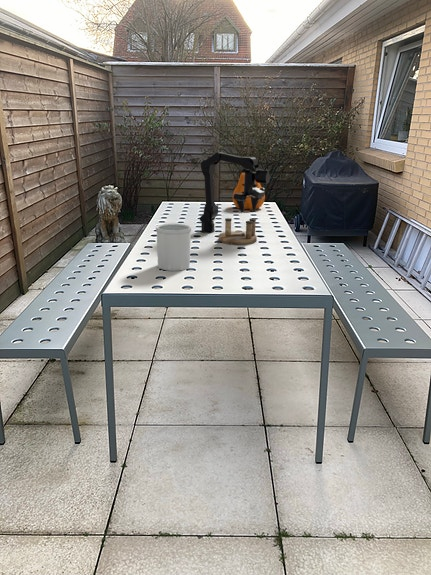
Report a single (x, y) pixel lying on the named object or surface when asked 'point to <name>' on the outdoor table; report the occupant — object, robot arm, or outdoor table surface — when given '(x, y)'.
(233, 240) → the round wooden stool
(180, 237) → the utensil holder
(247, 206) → the decorative pumpkin
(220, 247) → the outdoor table surface
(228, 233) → the hinged leg
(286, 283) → the outdoor table surface
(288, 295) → the outdoor table surface
